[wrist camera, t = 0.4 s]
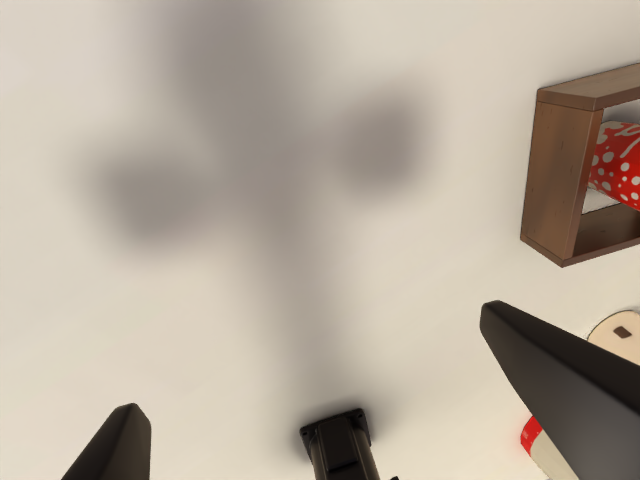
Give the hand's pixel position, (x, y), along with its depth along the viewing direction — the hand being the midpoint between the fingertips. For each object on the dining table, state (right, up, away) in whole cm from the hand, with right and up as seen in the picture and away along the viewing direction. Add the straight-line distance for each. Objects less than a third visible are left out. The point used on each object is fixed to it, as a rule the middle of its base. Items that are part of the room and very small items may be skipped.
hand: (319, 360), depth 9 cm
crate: (+20, +9, +17) cm, 28 cm away
